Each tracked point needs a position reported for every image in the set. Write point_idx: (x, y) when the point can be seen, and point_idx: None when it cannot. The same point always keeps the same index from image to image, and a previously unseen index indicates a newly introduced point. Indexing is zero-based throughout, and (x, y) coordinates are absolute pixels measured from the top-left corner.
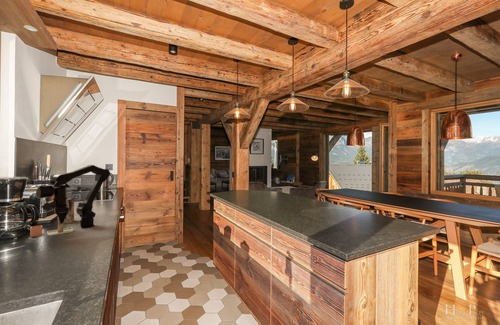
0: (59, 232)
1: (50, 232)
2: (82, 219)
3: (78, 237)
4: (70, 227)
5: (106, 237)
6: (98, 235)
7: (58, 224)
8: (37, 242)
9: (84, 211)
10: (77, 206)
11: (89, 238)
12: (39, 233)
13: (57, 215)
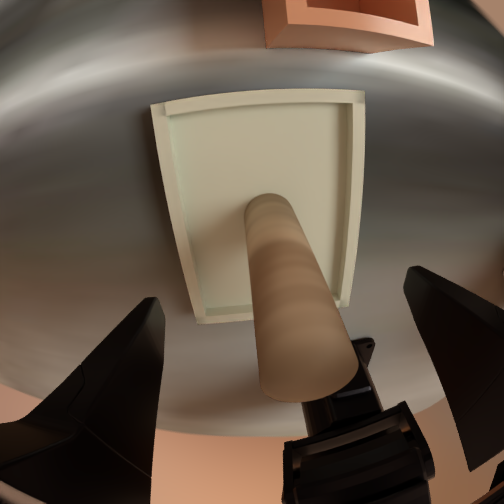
0: (246, 207)
1: (329, 123)
2: (328, 412)
3: (43, 318)
4: (348, 296)
5: (29, 387)
6: (61, 382)
7: (264, 252)
8: (24, 63)
9: (287, 501)
10: (428, 497)
11: (20, 349)
12: (267, 13)
13: (472, 320)
